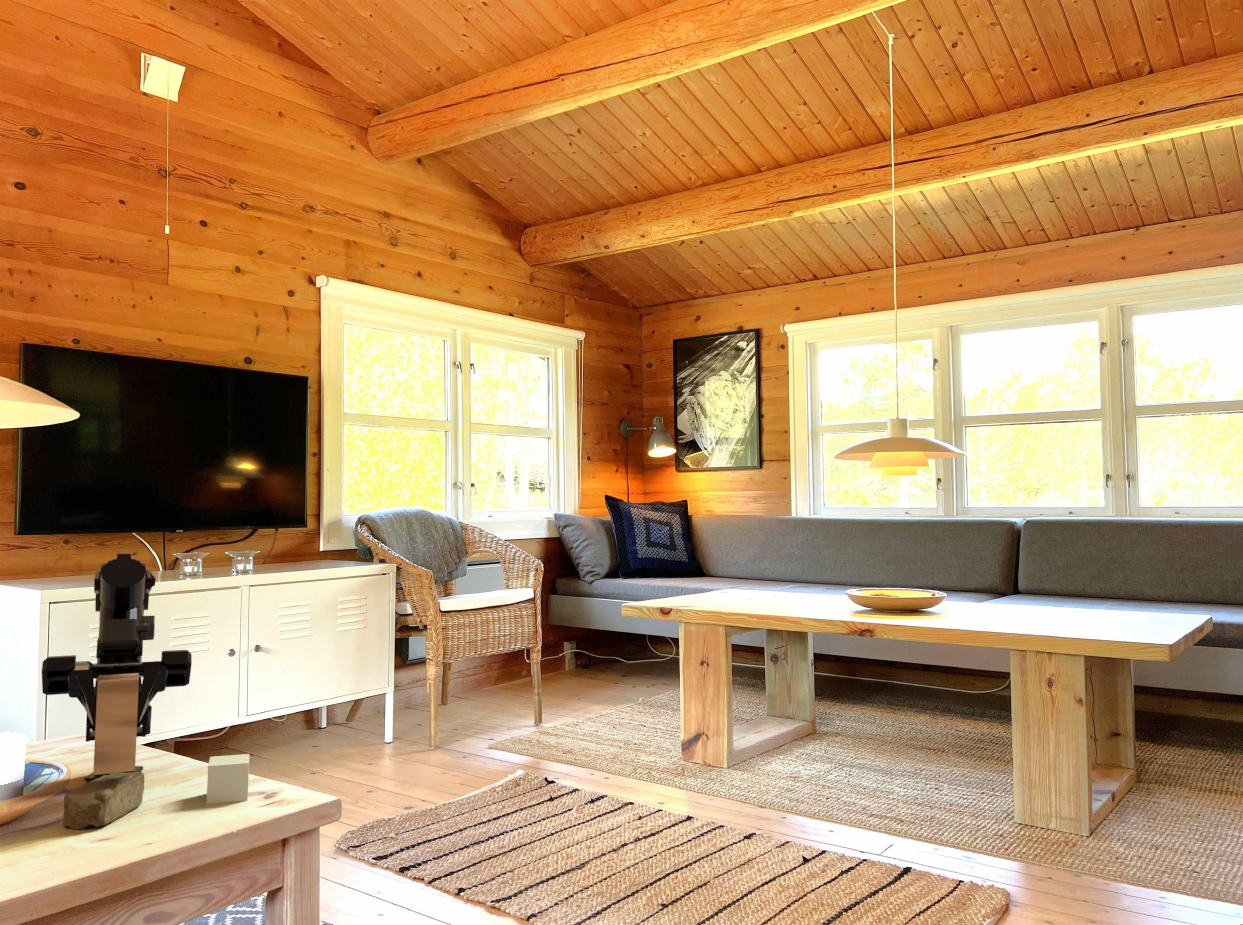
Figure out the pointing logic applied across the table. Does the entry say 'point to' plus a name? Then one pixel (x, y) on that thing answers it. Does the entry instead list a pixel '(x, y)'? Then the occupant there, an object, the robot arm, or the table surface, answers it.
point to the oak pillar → (116, 723)
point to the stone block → (103, 800)
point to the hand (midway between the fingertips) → (116, 722)
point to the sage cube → (228, 779)
